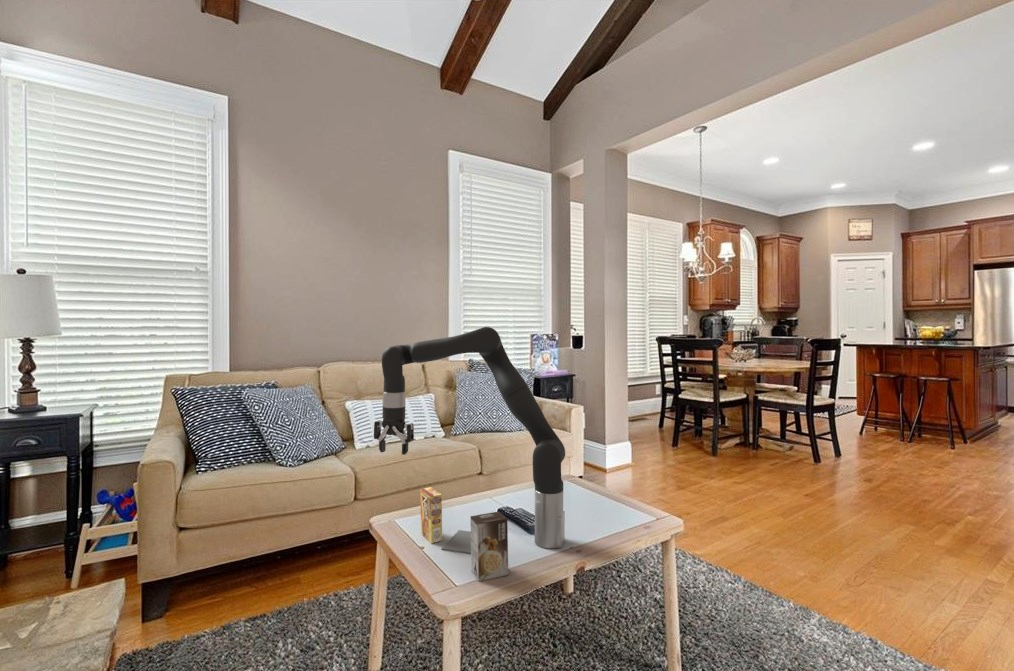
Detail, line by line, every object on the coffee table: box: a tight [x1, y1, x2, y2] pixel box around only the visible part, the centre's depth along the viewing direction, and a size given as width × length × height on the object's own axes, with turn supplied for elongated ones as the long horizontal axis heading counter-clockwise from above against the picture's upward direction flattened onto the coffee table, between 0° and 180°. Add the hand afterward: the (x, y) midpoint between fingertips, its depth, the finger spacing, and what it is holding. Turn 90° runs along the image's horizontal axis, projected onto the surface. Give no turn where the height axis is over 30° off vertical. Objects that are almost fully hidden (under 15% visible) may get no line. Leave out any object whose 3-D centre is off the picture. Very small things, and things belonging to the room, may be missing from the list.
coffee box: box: [470, 511, 509, 582], centre depth 135 cm, size 9×6×16 cm
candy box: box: [419, 486, 443, 544], centre depth 158 cm, size 9×4×15 cm, turn 33°
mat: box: [440, 529, 471, 555], centre depth 154 cm, size 15×14×1 cm
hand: (393, 453), depth 162 cm, fingers open, 8 cm apart
